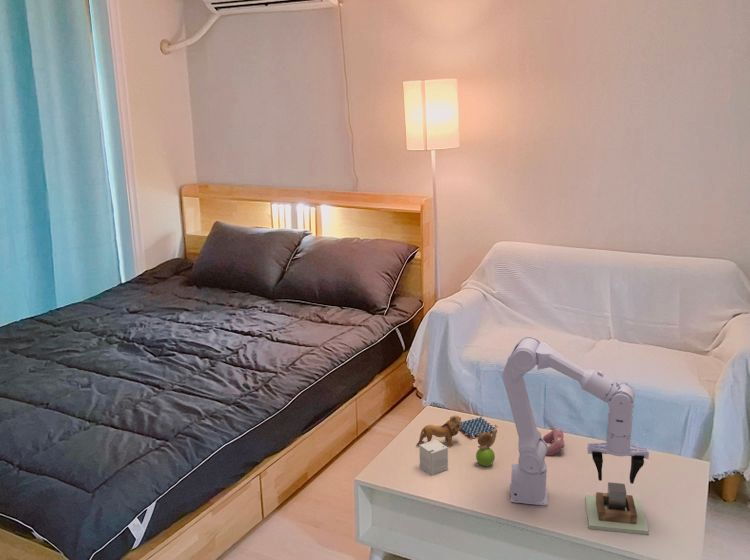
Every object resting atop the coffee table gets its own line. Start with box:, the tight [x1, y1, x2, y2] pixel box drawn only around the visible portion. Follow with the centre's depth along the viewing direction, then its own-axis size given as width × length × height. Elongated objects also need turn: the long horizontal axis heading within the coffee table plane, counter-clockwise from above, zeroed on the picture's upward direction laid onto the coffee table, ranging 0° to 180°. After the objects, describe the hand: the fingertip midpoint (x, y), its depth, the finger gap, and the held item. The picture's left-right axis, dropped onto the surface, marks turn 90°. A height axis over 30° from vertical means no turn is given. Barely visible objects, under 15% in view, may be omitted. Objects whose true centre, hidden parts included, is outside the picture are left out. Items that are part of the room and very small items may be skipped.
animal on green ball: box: [475, 424, 498, 467], centre depth 205 cm, size 5×6×12 cm
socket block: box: [584, 491, 649, 536], centre depth 180 cm, size 14×14×4 cm
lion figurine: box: [415, 414, 463, 448], centre depth 218 cm, size 15×5×9 cm, turn 103°
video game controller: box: [542, 427, 565, 456], centre depth 214 cm, size 10×5×7 cm, turn 169°
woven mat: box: [458, 416, 495, 441], centre depth 228 cm, size 10×11×2 cm
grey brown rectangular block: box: [606, 482, 627, 511], centre depth 180 cm, size 4×4×7 cm
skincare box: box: [419, 439, 449, 476], centre depth 204 cm, size 6×6×7 cm
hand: (615, 480), depth 180 cm, fingers open, 7 cm apart
